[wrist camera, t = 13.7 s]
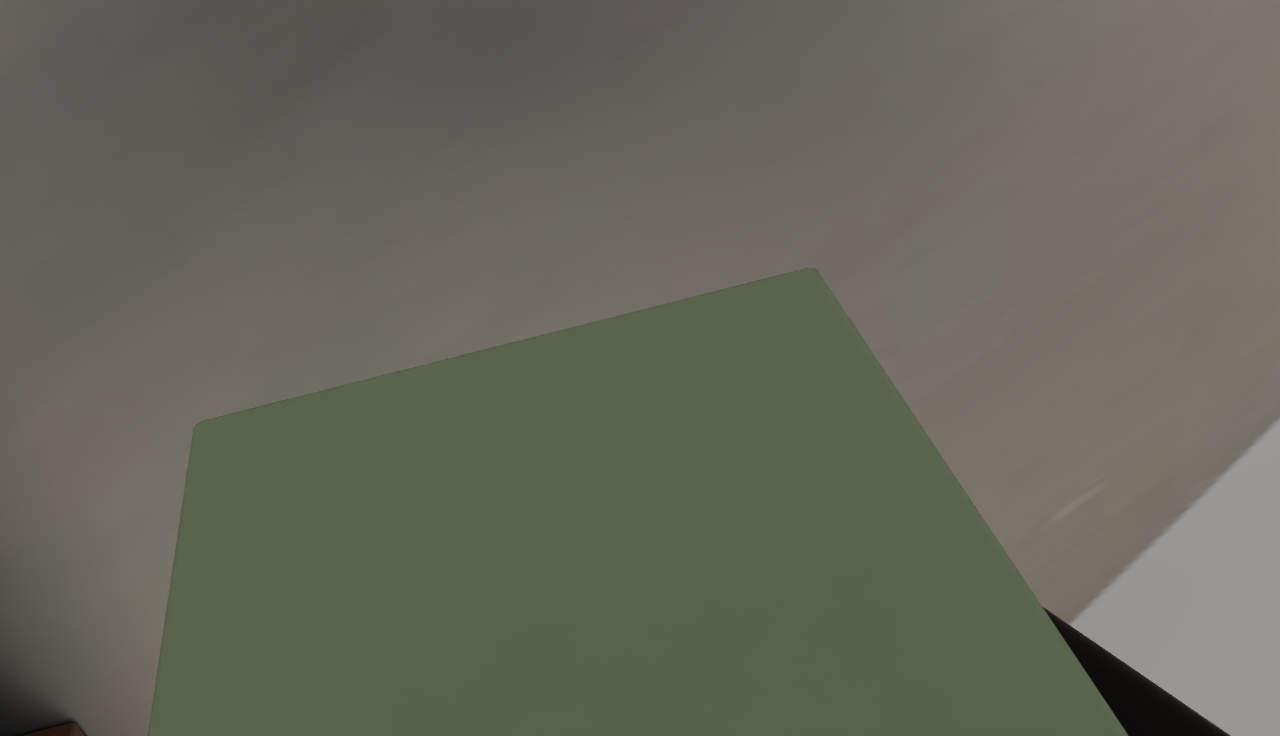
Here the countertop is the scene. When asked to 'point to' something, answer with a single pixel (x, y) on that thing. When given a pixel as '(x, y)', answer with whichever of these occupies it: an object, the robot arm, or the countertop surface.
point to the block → (607, 549)
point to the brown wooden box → (59, 731)
